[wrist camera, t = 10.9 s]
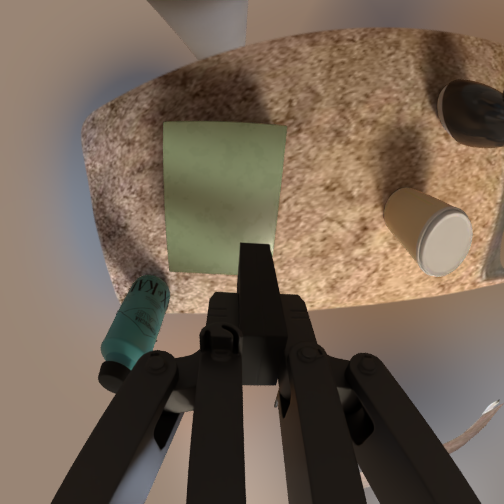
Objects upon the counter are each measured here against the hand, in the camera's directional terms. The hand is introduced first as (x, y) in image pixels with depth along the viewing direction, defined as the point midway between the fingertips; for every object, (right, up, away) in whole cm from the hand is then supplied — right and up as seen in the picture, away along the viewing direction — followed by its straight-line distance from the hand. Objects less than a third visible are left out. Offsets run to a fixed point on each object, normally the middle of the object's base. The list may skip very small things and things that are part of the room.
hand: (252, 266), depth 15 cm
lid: (-3, +6, +13) cm, 15 cm away
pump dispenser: (+31, +23, +15) cm, 41 cm away
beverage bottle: (-16, -4, +28) cm, 32 cm away
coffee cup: (+23, +7, +23) cm, 34 cm away
